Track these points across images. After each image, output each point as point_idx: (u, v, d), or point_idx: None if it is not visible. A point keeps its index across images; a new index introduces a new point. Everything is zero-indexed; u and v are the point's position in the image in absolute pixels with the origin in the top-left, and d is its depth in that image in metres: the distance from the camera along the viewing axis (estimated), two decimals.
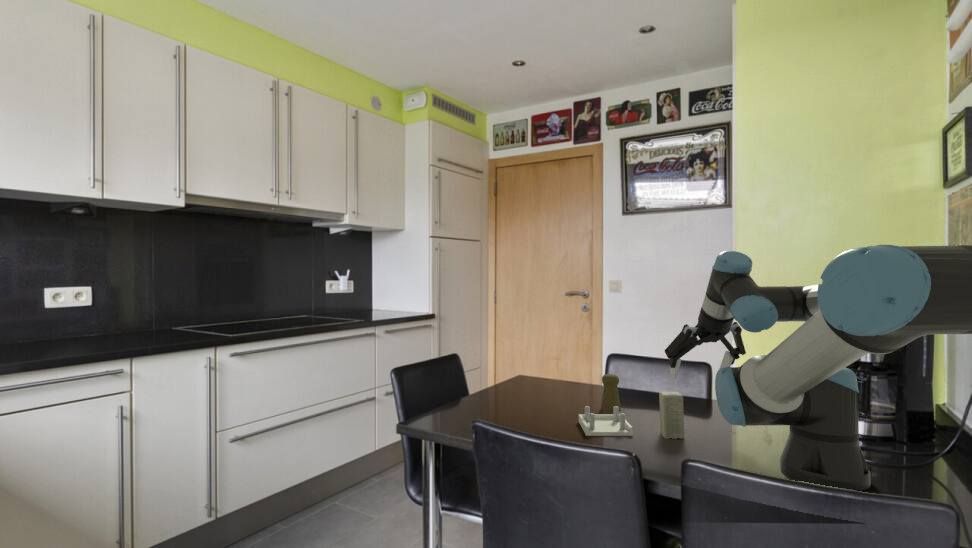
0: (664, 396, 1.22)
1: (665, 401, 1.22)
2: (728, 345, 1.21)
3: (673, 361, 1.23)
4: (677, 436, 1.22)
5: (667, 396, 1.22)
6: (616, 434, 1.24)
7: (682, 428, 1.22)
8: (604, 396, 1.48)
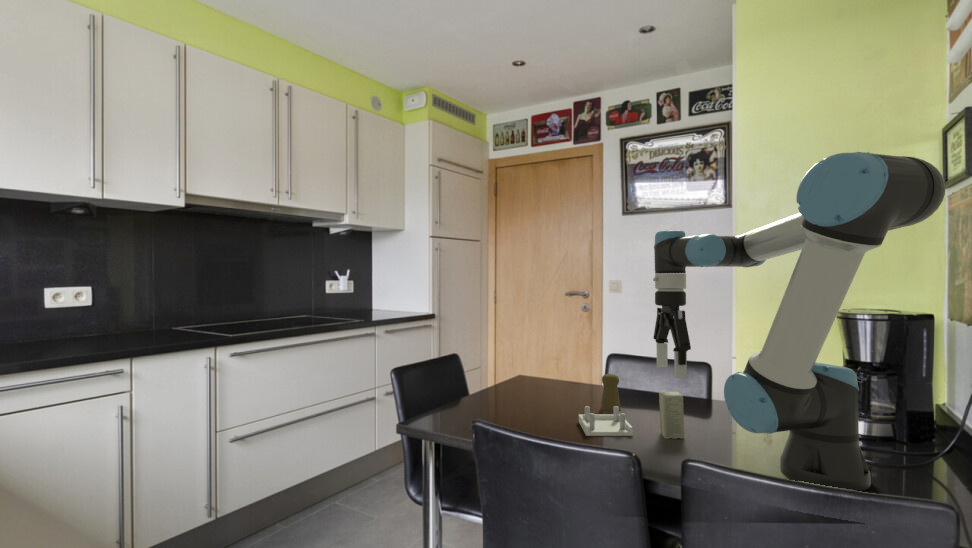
0: (664, 396, 1.22)
1: (665, 401, 1.22)
2: None
3: None
4: (677, 436, 1.22)
5: (667, 396, 1.22)
6: (616, 434, 1.24)
7: (682, 428, 1.22)
8: (604, 396, 1.48)
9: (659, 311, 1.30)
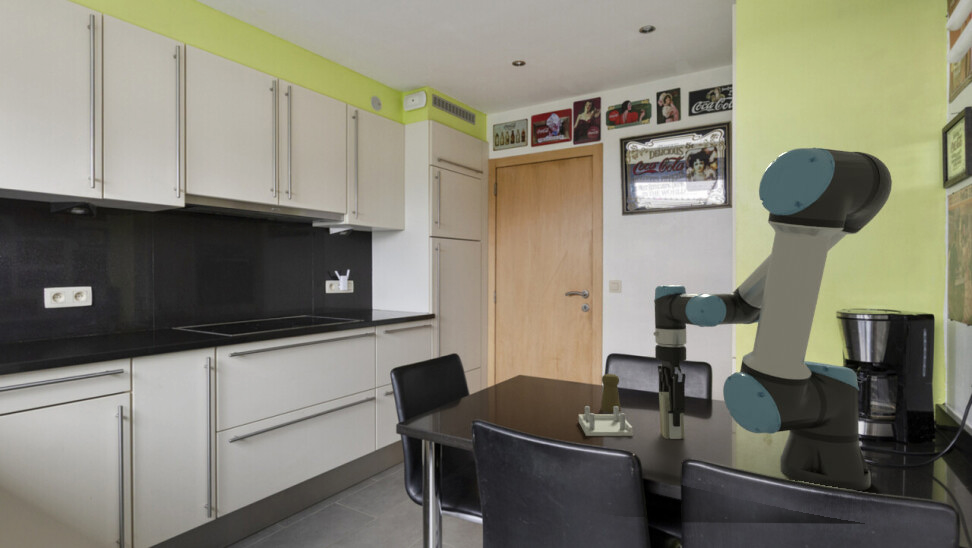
0: (664, 396, 1.22)
1: (665, 401, 1.22)
2: None
3: None
4: None
5: (667, 396, 1.22)
6: (616, 434, 1.24)
7: (682, 428, 1.22)
8: (604, 396, 1.48)
9: (660, 368, 1.29)
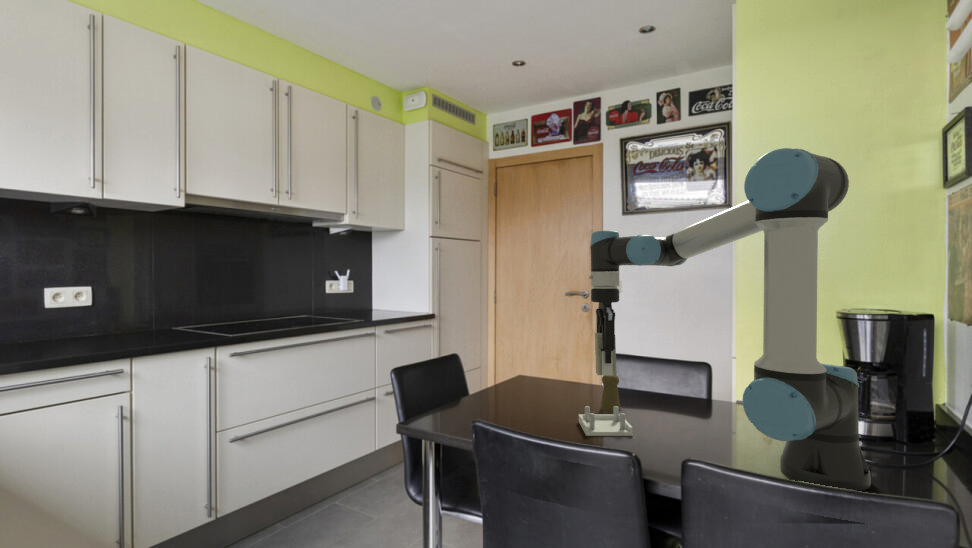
0: (597, 335, 1.29)
1: (598, 340, 1.29)
2: None
3: (611, 354, 1.27)
4: None
5: (600, 335, 1.29)
6: (616, 434, 1.24)
7: (614, 365, 1.28)
8: (604, 396, 1.48)
9: (597, 312, 1.36)
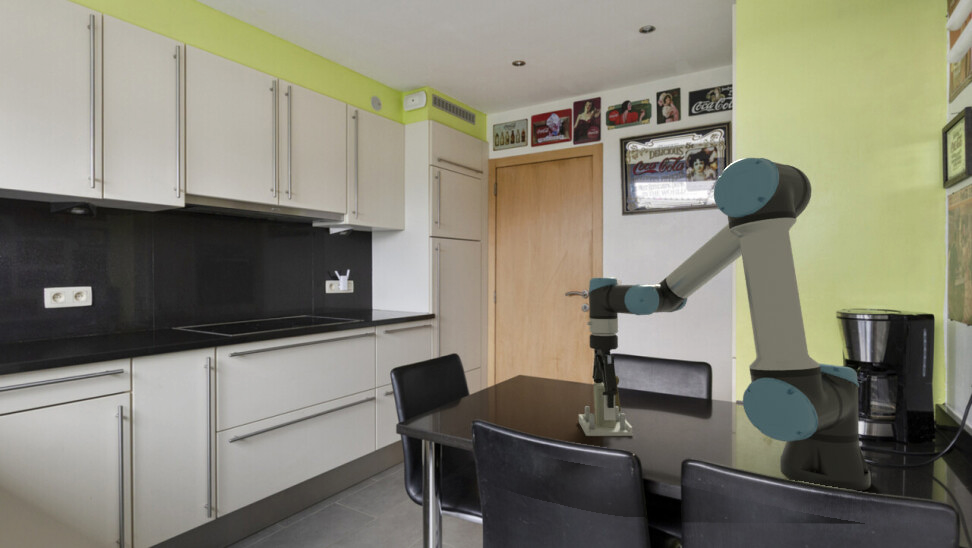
0: (597, 387, 1.29)
1: (598, 392, 1.28)
2: None
3: (613, 398, 1.23)
4: (609, 425, 1.28)
5: (600, 387, 1.28)
6: (616, 434, 1.24)
7: None
8: None
9: (596, 352, 1.36)
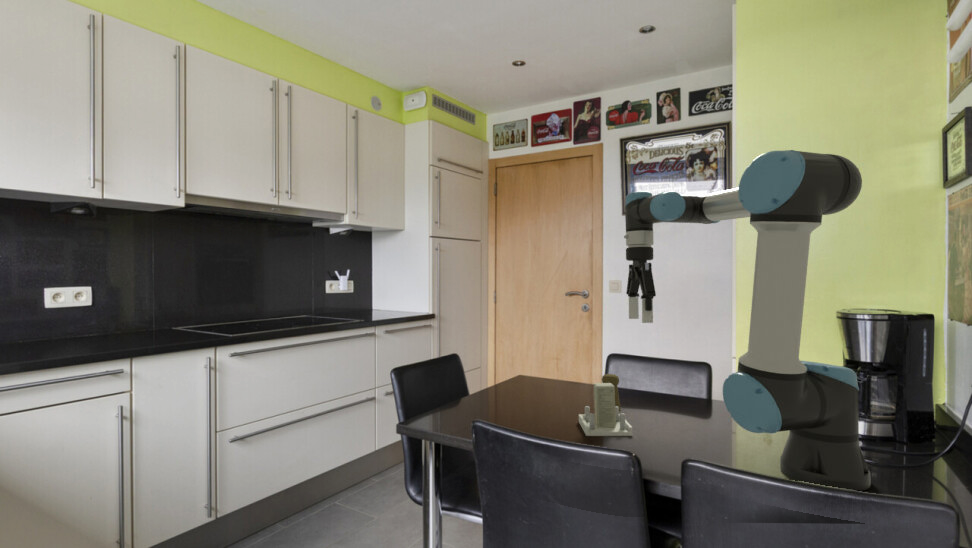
0: (597, 387, 1.29)
1: (598, 392, 1.28)
2: None
3: None
4: (609, 425, 1.28)
5: (600, 387, 1.28)
6: (616, 434, 1.24)
7: (614, 417, 1.28)
8: None
9: (630, 267, 1.43)
